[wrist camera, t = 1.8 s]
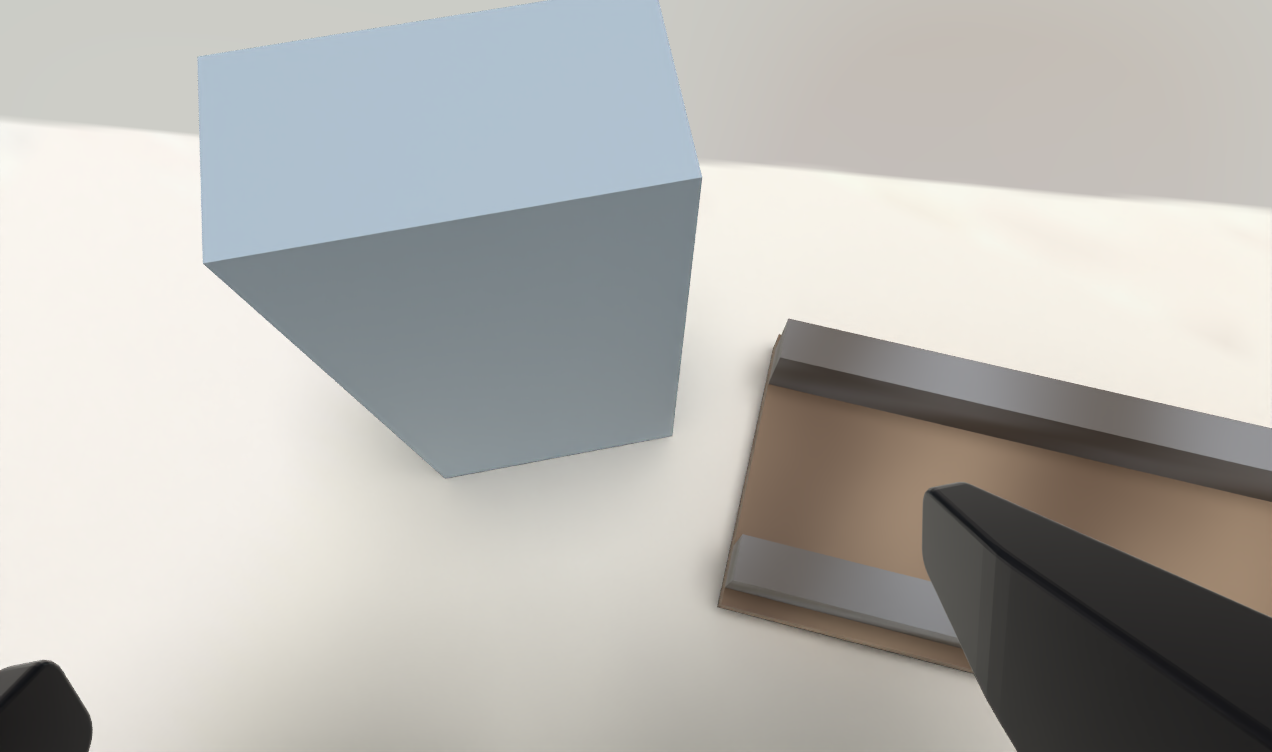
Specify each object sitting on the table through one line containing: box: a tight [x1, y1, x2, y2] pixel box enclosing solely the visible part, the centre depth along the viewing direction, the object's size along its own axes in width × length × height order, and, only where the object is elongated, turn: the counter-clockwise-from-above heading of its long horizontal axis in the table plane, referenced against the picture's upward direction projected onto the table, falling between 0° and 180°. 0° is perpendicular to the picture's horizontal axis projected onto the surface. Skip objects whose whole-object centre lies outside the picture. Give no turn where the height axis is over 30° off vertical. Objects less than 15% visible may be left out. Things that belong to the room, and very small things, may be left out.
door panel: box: [198, 0, 702, 478], centre depth 16 cm, size 6×3×12 cm, turn 101°
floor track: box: [718, 319, 1272, 673], centre depth 20 cm, size 14×7×3 cm, turn 76°
